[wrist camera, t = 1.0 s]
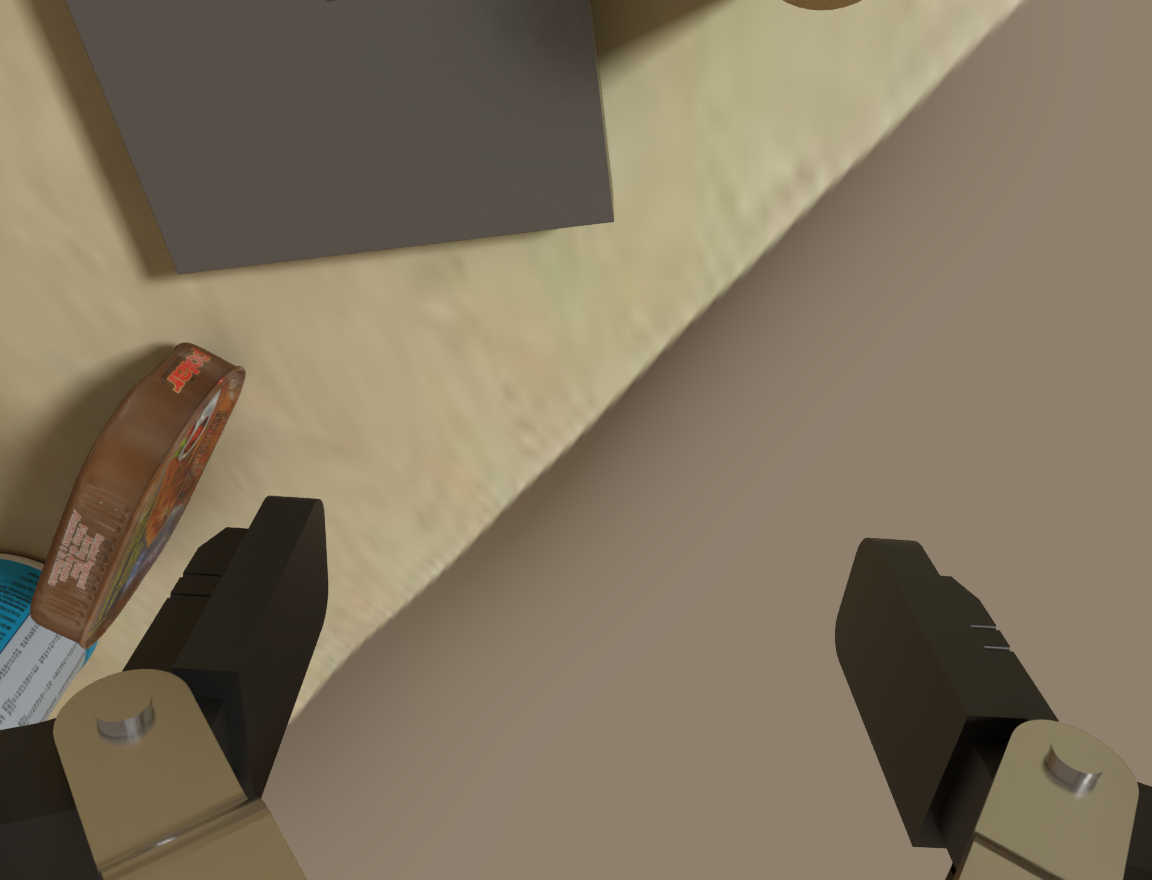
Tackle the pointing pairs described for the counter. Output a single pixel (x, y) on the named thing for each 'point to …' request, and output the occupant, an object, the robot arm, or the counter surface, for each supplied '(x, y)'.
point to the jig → (352, 121)
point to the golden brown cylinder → (821, 4)
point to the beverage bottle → (30, 650)
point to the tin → (134, 491)
